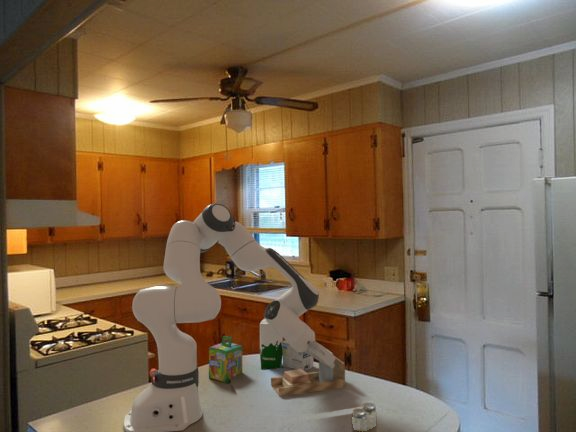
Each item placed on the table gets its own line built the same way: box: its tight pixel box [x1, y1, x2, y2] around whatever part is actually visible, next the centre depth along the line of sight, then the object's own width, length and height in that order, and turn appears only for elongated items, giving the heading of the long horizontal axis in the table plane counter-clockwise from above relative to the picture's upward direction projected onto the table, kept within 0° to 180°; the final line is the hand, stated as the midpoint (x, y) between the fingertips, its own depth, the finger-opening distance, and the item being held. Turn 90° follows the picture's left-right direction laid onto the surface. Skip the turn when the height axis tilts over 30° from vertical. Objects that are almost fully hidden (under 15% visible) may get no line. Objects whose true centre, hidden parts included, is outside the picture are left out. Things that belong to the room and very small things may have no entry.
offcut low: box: [282, 378, 311, 387], centre depth 148 cm, size 8×7×2 cm
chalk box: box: [208, 335, 243, 384], centre depth 162 cm, size 9×9×15 cm
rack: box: [270, 354, 346, 397], centre depth 149 cm, size 23×10×9 cm, turn 108°
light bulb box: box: [282, 339, 314, 372], centre depth 169 cm, size 11×7×11 cm, turn 49°
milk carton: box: [259, 318, 284, 370], centre depth 172 cm, size 9×9×20 cm
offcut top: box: [283, 369, 309, 384], centre depth 148 cm, size 6×6×2 cm
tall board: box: [318, 348, 334, 382], centre depth 151 cm, size 3×6×11 cm, turn 18°
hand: (327, 363), depth 152 cm, fingers closed on tall board, 6 cm apart
